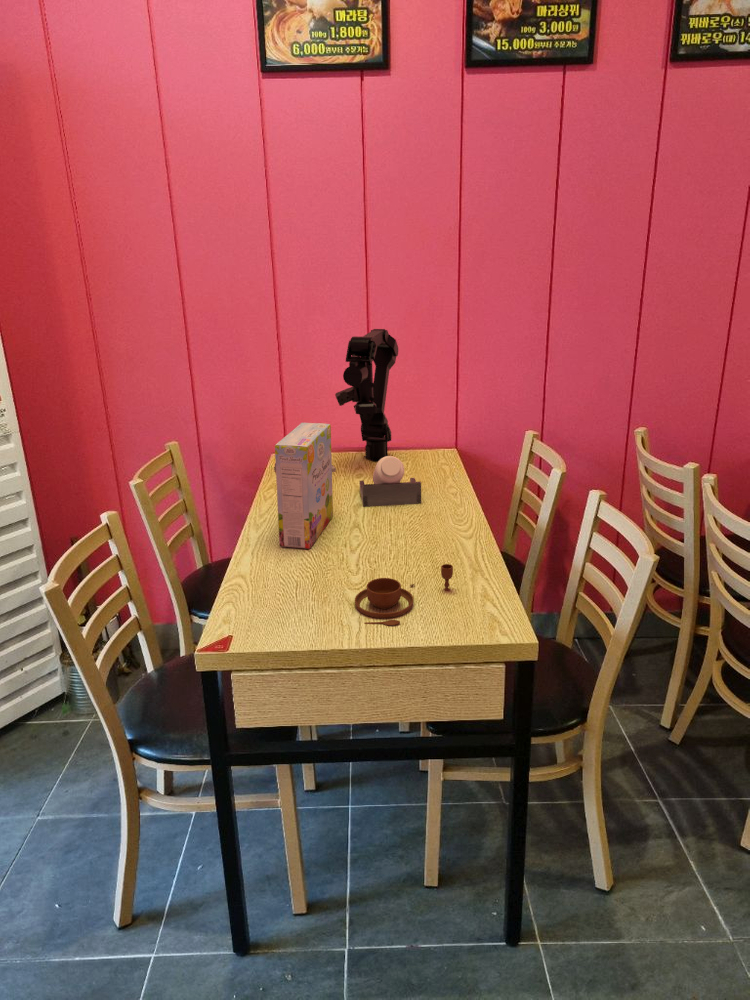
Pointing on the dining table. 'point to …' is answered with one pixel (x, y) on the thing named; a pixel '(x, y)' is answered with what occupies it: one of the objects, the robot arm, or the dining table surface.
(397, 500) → the dark wooden frame
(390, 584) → the place setting
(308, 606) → the dining table surface
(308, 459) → the snack box
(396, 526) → the dining table surface
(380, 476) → the pill bottle
